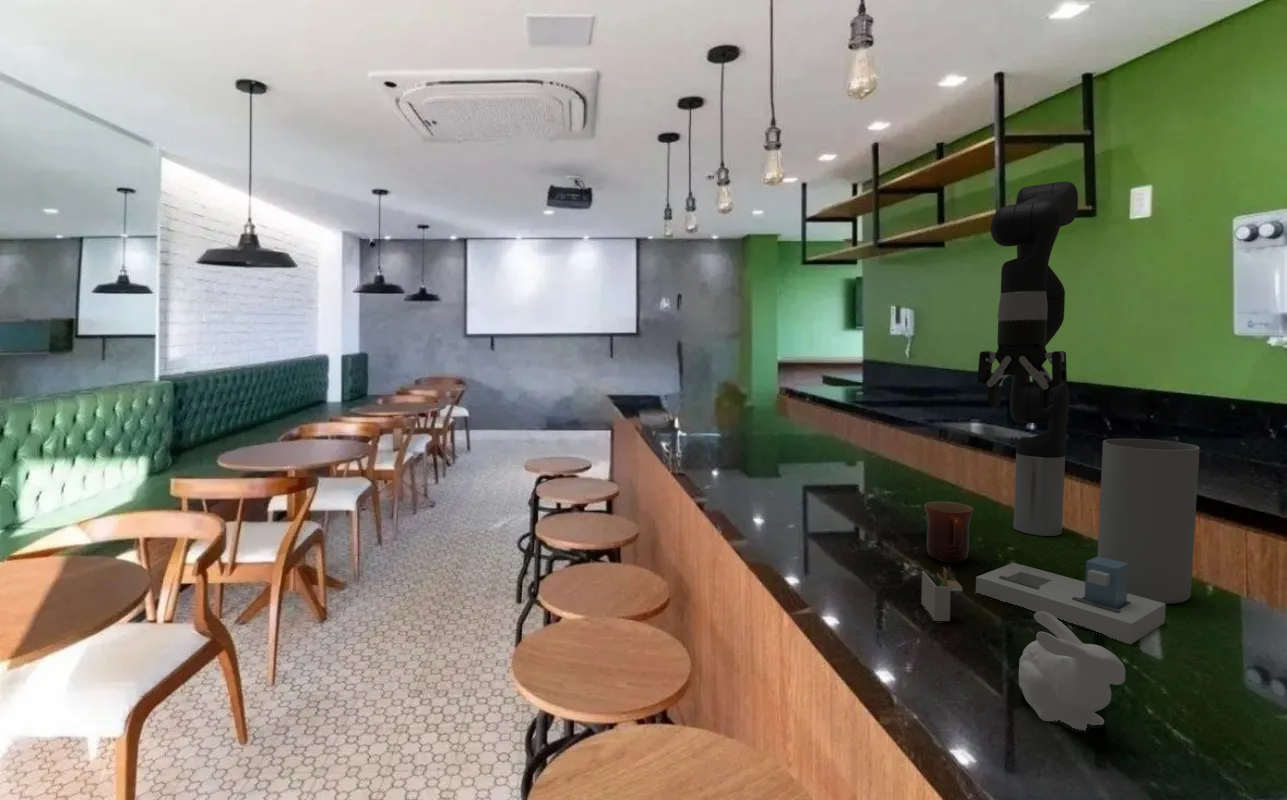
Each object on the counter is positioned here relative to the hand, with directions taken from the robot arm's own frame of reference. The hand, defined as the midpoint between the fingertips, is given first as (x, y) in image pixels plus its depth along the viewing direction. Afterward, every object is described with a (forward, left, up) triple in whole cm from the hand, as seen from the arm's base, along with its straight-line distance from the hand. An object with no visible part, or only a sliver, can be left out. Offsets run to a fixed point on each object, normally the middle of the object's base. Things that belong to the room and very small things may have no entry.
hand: (1018, 408), depth 115 cm
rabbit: (+42, +27, -30) cm, 58 cm away
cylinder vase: (-8, +17, -30) cm, 36 cm away
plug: (+10, +18, -30) cm, 37 cm away
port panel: (+10, +13, -30) cm, 34 cm away
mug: (+4, -10, -30) cm, 32 cm away
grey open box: (+28, +2, -31) cm, 42 cm away
